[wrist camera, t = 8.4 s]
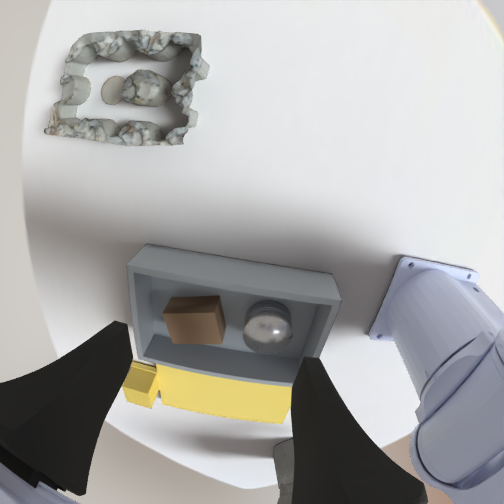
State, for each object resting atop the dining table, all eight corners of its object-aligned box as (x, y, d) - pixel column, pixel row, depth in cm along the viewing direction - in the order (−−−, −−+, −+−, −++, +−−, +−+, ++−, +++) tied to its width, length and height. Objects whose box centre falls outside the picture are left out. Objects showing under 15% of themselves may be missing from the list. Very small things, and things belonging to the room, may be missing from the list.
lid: (302, 369, 25) (304, 401, 21) (282, 416, 29) (282, 443, 25) (130, 338, 25) (115, 365, 21) (141, 390, 29) (131, 415, 25)
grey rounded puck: (296, 303, 21) (298, 321, 19) (285, 338, 22) (286, 356, 20) (248, 296, 21) (246, 314, 19) (242, 332, 22) (239, 350, 20)
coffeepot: (308, 466, 35) (309, 557, 19) (255, 459, 34) (247, 558, 18) (367, 424, 29) (387, 542, 13) (306, 416, 28) (311, 556, 12)
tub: (332, 273, 20) (341, 300, 17) (302, 359, 24) (305, 388, 21) (146, 243, 20) (126, 264, 17) (151, 333, 24) (138, 358, 21)
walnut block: (219, 295, 21) (214, 312, 19) (226, 326, 22) (222, 344, 20) (171, 297, 21) (162, 313, 19) (180, 326, 23) (173, 343, 21)
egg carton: (71, 132, 17) (37, 136, 13) (93, 43, 14) (61, 33, 10) (192, 153, 18) (171, 159, 14) (222, 49, 14) (208, 29, 11)
